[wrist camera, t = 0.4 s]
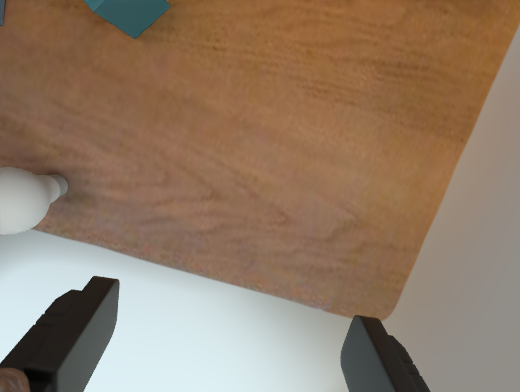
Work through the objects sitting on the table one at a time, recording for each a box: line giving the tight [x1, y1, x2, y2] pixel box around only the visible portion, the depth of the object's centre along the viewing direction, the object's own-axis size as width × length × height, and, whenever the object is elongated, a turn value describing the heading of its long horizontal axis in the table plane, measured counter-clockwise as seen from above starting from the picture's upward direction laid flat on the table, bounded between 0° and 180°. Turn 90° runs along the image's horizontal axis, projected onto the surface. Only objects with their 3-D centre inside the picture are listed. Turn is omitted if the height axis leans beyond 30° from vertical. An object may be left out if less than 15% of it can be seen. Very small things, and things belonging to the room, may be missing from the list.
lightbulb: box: [0, 167, 68, 234], centre depth 32 cm, size 6×6×11 cm
